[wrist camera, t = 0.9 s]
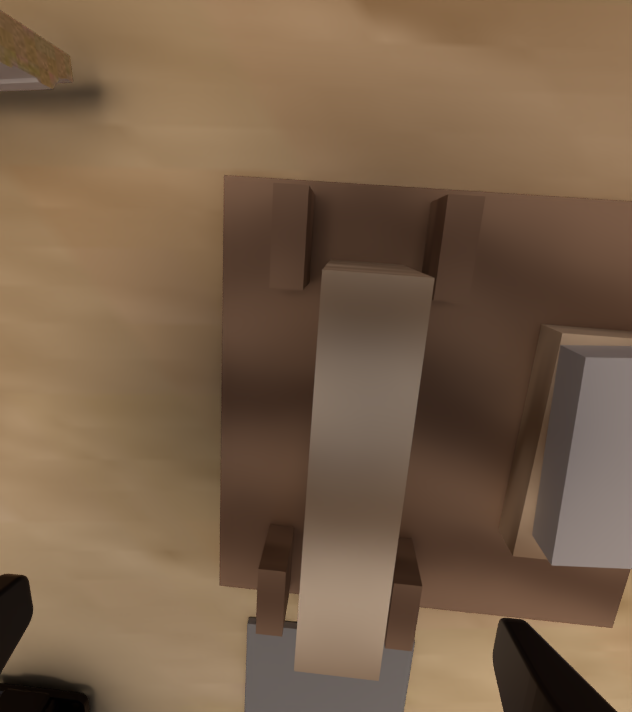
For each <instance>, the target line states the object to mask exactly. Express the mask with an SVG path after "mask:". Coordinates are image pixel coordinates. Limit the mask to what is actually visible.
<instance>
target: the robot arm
mask: <svg viewBox="0 0 632 712" xmlns="http://www.w3.org/2000/svg"><path fill="white" fill-rule="evenodd" d="M32 614H33V604H32V598H31V592H30V585H29V580H28V578H27V577H26V576H24V575H16V574H3V575H1V576H0V674H1V672H2V670H3V668H4V667H5V665H6V663H7V661H8V660H9V658H10V656H11V654H12V653H13V651H14V649H15V648H16V646H17V644H18V642H19V641H20V639H21V637H22V635H23V634H24V632H25V630H26V628H27V627H28V625H29V623H30V621H31V618H32ZM493 666H494V671H495V675H496V680H497V684H498V688H499V693H500V697H501V702H502V706H503V711H504V712H617V711H616V710H615V709H614V708H613V707H612V706H611V705H610V704H609V703H608V702H607V701H606V700H605V699H604V698H603V697H602V696H601V695H600V694H599V693H598V692H597V691H596V690H595V689H594V688H593V687H592V686H591V685H590V684H589V683H588V682H587V681H586V680H585V679H584V678H583V677H582V676H581V675H580V674H579V673H578V672H577V671H575V670H574V669H573V668H572V667H571V666H570V665H569V664H568V663H567V662H566V661H565V660H564V659H563V658H562V657H561V656H560V655H559V654H558V653H557V652H556V651H555V650H554V649H553V648H552V647H551V646H550V645H549V644H548V643H547V642H546V641H545V640H544V639H543V638H542V637H541V636H540V635H539V634H538V633H537V632H536V631H535V630H534V629H533V628H532V627H531V626H530V625H529V624H528V623H527V622H525V621H524V620H521V619H512V618H502V619H500V621H499V623H498V628H497V633H496V638H495V643H494V649H493ZM0 712H90V711H89V700H88V698H87V696H86V695H84V694H82V693H76V692H68V691H60V690H52V689H43V688H35V687H27V686H19V685H10V684H2V683H0Z"/></svg>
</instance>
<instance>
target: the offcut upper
mask: <svg viewBox="0 0 632 712" xmlns="http://www.w3.org/2000/svg"><path fill="white" fill-rule="evenodd" d="M532 536H533V537H534V539H535V540H536V542H537V544H538V545H539V547H540V548H541V550H542V551H543V553H544V555H545V556H546V558H547V559H548V561H549V562H550V564H551V565H554V566H576V567H599V568H621V569H632V346H593V345H560V350H559V357H558V364H557V370H556V377H555V384H554V390H553V397H552V404H551V411H550V417H549V424H548V431H547V437H546V444H545V451H544V458H543V464H542V471H541V478H540V485H539V491H538V498H537V505H536V511H535V518H534V525H533V532H532Z"/></svg>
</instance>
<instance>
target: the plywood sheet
mask: <svg viewBox="0 0 632 712" xmlns="http://www.w3.org/2000/svg"><path fill="white" fill-rule="evenodd" d="M434 279H435V278H433V277H431V276H429V275H426V274H424V273H421V272H419V271H416V270H414V269H411V268H409V267H407V266H404V265H396V264H383V263H369V262H355V261H341V260H330V261H329V262H328V263H327V264H326V266H325V267H324V268H323V269H322V280H321V294H320V308H319V322H318V336H317V351H316V365H315V379H314V393H313V407H312V422H311V436H310V450H309V464H308V478H307V492H306V507H305V521H304V535H303V549H302V563H301V577H300V592H299V606H298V620H297V634H296V648H295V663H294V671H298V672H306V673H315V674H323V675H332V676H340V677H349V678H358V679H366V680H375V681H379V676H380V669H381V661H382V654H383V647H384V640H385V633H386V625H387V618H388V611H389V604H390V597H391V589H392V582H393V575H394V568H395V560H396V553H397V546H398V539H399V532H400V524H401V517H402V510H403V503H404V496H405V488H406V481H407V474H408V467H409V459H410V452H411V445H412V438H413V431H414V423H415V416H416V409H417V402H418V395H419V387H420V380H421V373H422V366H423V359H424V351H425V344H426V337H427V330H428V322H429V315H430V308H431V301H432V294H433V286H434Z"/></svg>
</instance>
